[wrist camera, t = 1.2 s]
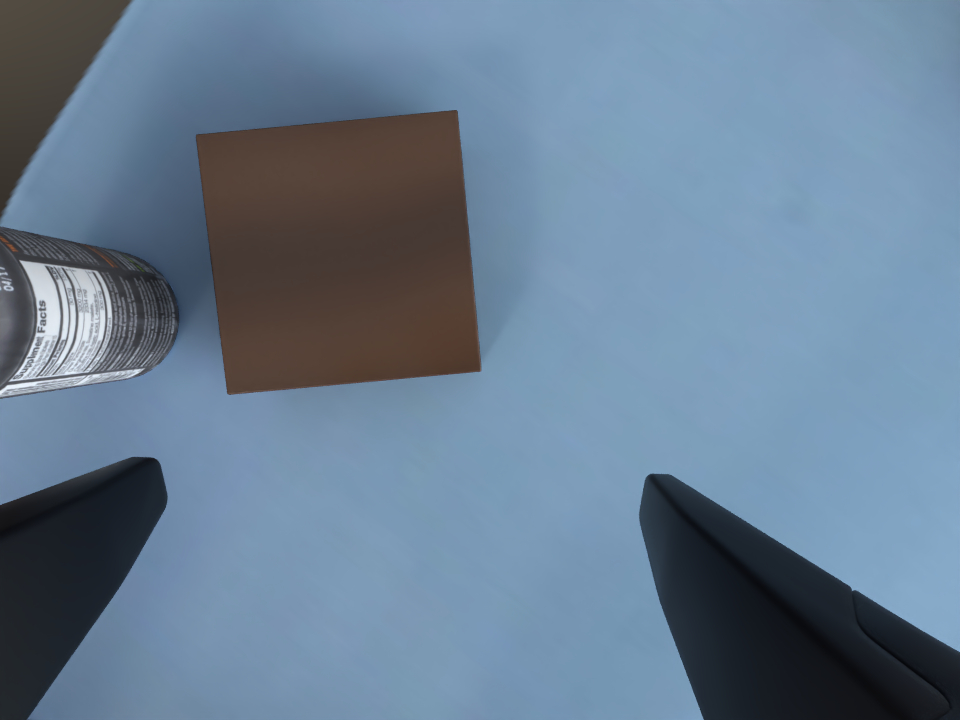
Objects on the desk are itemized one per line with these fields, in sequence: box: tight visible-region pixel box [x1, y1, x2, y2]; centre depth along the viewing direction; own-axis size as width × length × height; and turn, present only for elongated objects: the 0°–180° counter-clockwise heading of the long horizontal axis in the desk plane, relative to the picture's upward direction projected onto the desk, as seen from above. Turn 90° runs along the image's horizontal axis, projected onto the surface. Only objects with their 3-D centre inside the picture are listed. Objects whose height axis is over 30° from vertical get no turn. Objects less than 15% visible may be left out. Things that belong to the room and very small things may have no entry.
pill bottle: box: [0, 227, 179, 399], centre depth 17 cm, size 6×6×11 cm
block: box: [196, 110, 481, 395], centre depth 21 cm, size 10×10×4 cm
